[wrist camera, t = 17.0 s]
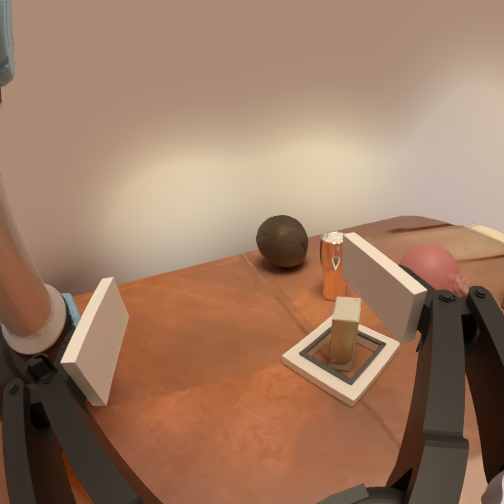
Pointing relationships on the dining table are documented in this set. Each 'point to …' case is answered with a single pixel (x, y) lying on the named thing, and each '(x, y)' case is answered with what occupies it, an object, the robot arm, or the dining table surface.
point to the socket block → (333, 380)
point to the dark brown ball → (282, 241)
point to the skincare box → (344, 332)
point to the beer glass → (332, 265)
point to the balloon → (436, 268)
